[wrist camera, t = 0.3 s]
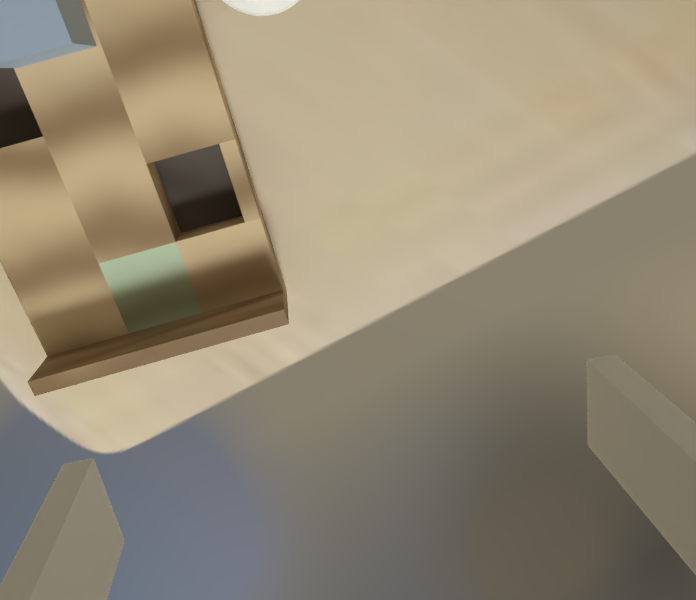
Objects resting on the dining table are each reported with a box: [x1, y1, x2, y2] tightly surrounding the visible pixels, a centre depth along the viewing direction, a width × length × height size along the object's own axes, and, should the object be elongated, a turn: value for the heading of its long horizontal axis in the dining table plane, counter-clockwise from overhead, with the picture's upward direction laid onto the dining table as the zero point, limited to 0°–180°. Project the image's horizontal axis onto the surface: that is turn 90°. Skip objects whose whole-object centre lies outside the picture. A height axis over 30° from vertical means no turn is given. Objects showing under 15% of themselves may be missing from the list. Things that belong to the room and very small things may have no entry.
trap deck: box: [0, 0, 289, 396], centre depth 36 cm, size 24×16×6 cm, turn 15°
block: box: [0, 0, 97, 68], centre depth 31 cm, size 4×4×4 cm
